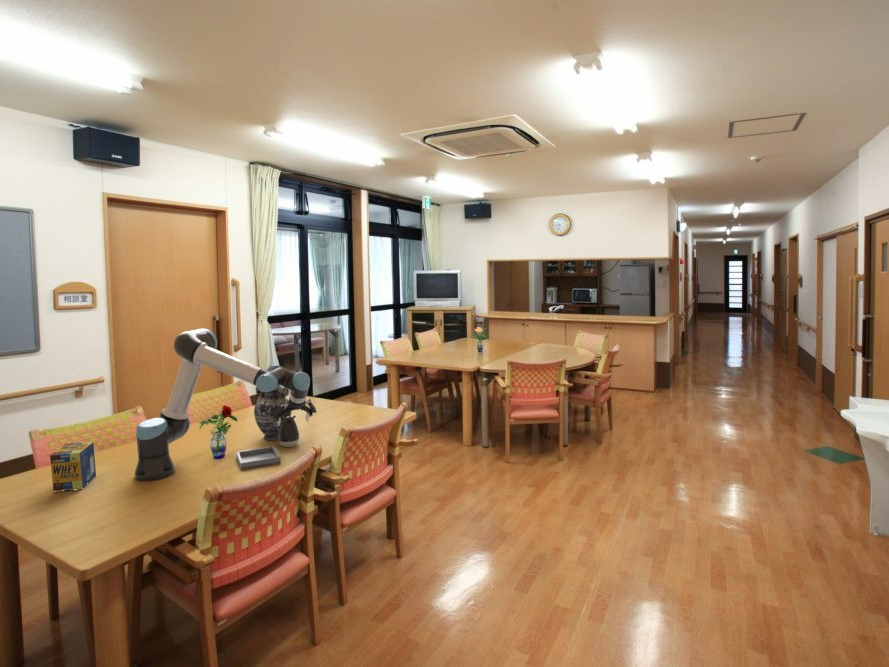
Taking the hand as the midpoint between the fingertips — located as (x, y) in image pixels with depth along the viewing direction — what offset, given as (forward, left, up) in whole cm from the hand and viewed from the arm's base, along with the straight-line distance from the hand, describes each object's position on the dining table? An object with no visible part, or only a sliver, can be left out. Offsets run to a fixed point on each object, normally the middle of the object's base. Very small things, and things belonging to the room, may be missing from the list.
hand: (292, 421), depth 255 cm
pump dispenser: (+8, +1, -15) cm, 17 cm away
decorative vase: (+26, +5, -15) cm, 30 cm away
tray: (-7, +18, -14) cm, 24 cm away
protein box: (+1, +89, -15) cm, 90 cm away
